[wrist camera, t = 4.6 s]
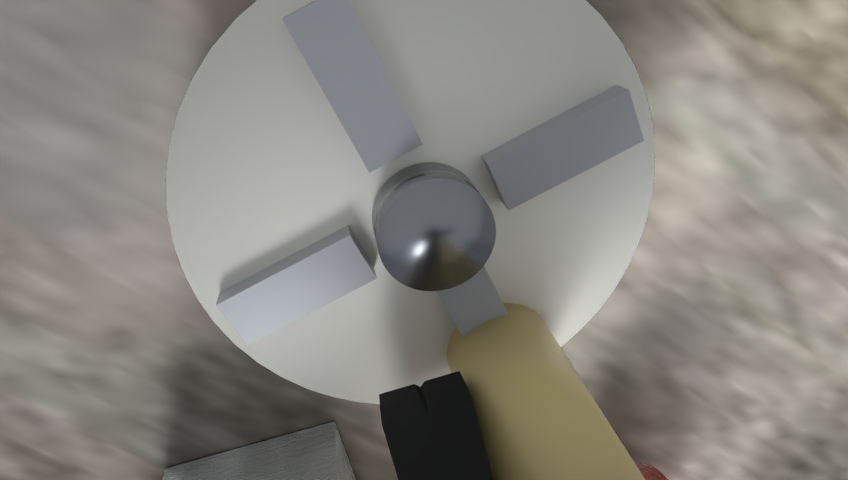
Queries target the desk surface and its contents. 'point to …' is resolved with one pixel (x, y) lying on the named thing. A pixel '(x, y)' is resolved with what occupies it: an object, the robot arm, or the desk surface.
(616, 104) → the lock wheel
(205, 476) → the eye block
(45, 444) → the desk surface
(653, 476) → the hook rod
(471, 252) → the wheel spindle
